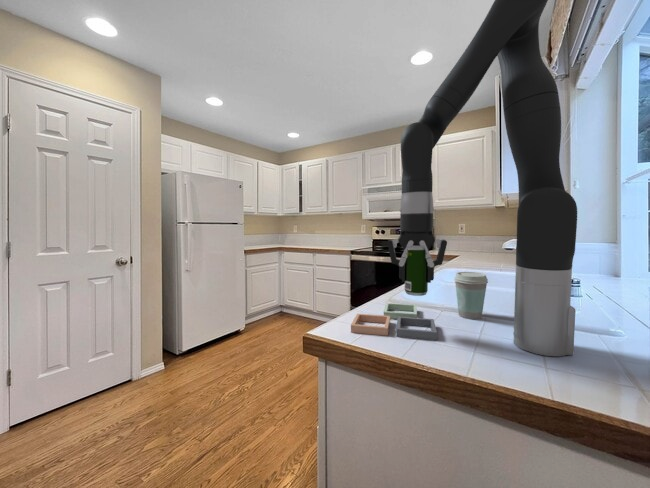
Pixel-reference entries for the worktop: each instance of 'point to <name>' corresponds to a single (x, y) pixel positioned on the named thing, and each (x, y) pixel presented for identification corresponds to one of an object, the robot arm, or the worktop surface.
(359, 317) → the terracotta frame
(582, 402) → the worktop surface
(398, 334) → the charcoal frame
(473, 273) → the coffee cup
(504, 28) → the robot arm
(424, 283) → the beer can
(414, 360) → the worktop surface
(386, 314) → the sage frame
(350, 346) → the worktop surface
